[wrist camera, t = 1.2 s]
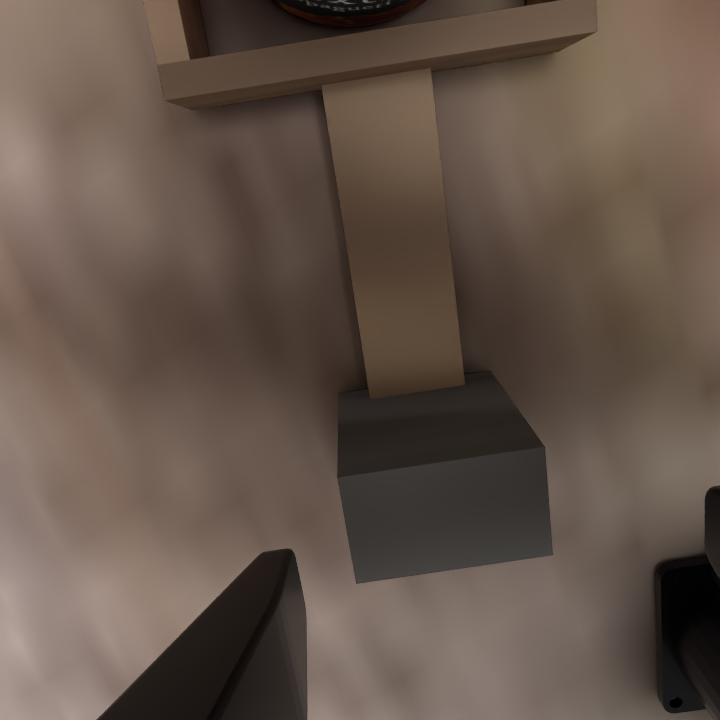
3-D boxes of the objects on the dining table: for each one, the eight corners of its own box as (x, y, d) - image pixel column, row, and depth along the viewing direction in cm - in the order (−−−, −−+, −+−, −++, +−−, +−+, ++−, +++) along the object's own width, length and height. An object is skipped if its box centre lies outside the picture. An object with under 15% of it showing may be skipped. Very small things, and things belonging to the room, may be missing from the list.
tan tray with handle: (580, 441, 22) (664, 539, 16) (271, 487, 22) (246, 599, 17) (530, -430, 16) (640, -777, 10) (94, -355, 16) (-50, -653, 10)
